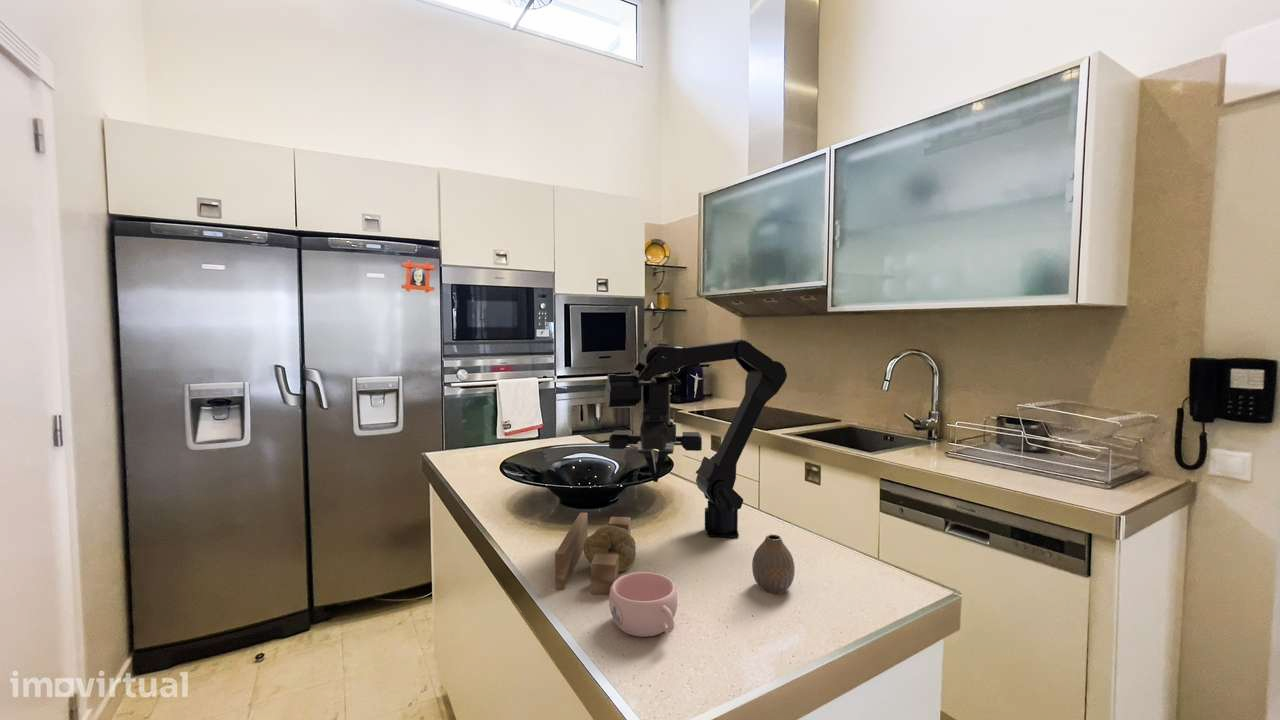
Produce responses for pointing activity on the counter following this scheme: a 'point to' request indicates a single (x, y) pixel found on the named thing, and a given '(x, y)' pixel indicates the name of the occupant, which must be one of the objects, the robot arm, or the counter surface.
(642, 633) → the mug
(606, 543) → the fossil
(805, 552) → the counter surface
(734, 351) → the robot arm
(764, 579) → the vase
